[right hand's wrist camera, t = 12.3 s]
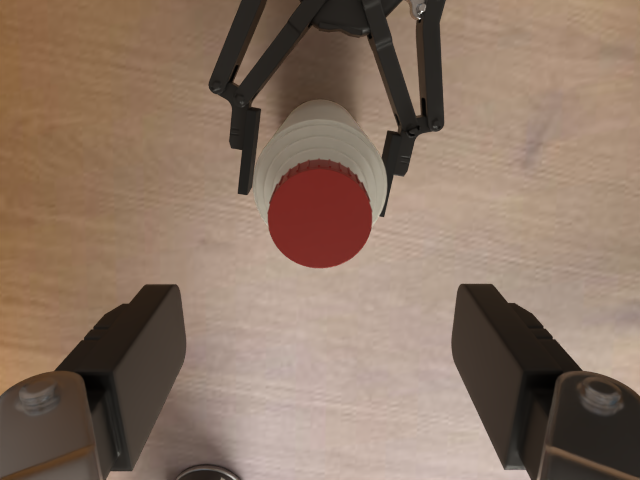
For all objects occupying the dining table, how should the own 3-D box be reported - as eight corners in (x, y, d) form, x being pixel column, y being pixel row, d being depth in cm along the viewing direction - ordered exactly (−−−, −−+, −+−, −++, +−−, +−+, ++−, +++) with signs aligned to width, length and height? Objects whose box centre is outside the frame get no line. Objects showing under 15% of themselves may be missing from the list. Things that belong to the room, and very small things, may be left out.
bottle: (266, 149, 42) (204, 237, 19) (310, 82, 40) (296, 93, 17) (329, 191, 44) (339, 320, 21) (374, 129, 42) (439, 197, 19)
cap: (253, 217, 21) (245, 233, 19) (307, 137, 20) (306, 145, 18) (331, 268, 22) (332, 288, 20) (387, 194, 21) (395, 207, 19)
